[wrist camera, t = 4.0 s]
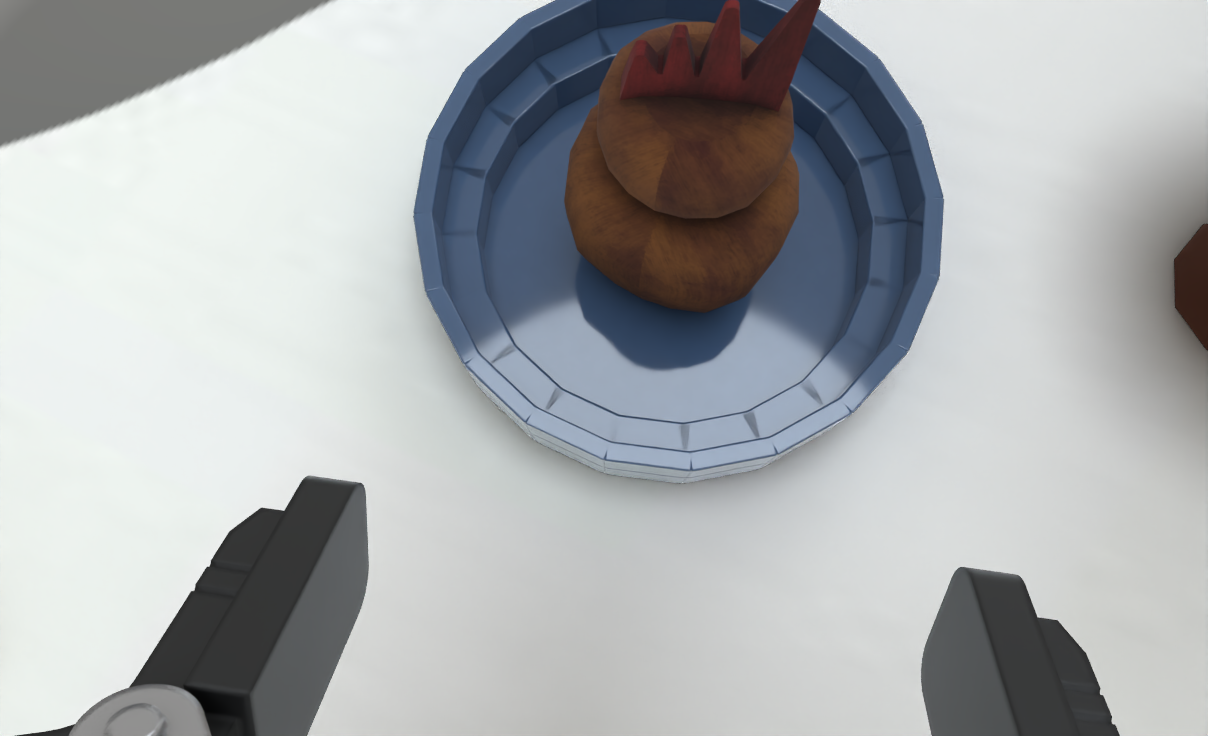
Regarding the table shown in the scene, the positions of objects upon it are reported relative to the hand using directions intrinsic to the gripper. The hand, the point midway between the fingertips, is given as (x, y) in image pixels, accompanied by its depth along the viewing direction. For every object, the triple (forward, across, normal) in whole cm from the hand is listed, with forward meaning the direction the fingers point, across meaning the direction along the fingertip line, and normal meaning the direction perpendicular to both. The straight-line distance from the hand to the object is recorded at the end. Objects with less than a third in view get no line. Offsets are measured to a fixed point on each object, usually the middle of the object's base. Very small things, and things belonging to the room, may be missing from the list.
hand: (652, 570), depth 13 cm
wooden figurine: (+21, 0, -5) cm, 22 cm away
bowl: (+21, 0, -5) cm, 22 cm away
